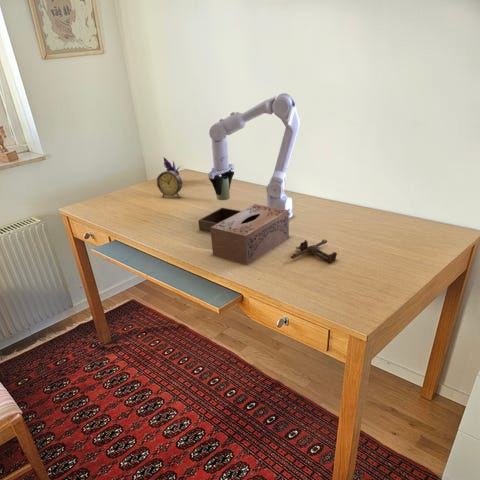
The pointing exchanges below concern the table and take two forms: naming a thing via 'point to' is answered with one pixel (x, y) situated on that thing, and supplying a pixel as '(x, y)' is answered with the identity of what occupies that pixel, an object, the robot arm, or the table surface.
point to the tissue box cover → (250, 233)
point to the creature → (170, 167)
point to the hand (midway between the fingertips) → (222, 192)
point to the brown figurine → (315, 251)
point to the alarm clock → (169, 182)
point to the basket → (215, 218)
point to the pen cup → (224, 189)
